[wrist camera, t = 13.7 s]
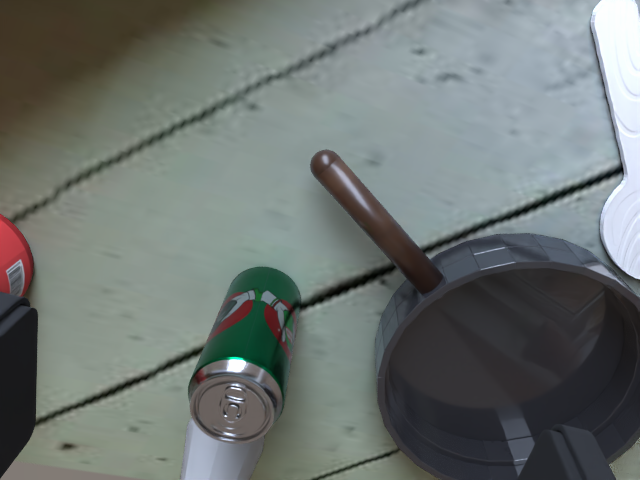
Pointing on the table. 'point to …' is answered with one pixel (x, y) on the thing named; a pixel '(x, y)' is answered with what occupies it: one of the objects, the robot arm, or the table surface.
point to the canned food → (14, 259)
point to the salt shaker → (218, 457)
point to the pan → (509, 356)
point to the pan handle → (375, 220)
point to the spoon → (622, 125)
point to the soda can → (247, 358)
